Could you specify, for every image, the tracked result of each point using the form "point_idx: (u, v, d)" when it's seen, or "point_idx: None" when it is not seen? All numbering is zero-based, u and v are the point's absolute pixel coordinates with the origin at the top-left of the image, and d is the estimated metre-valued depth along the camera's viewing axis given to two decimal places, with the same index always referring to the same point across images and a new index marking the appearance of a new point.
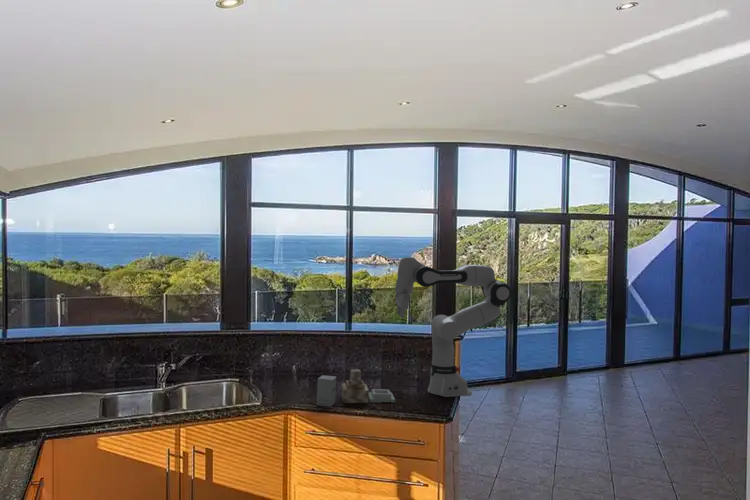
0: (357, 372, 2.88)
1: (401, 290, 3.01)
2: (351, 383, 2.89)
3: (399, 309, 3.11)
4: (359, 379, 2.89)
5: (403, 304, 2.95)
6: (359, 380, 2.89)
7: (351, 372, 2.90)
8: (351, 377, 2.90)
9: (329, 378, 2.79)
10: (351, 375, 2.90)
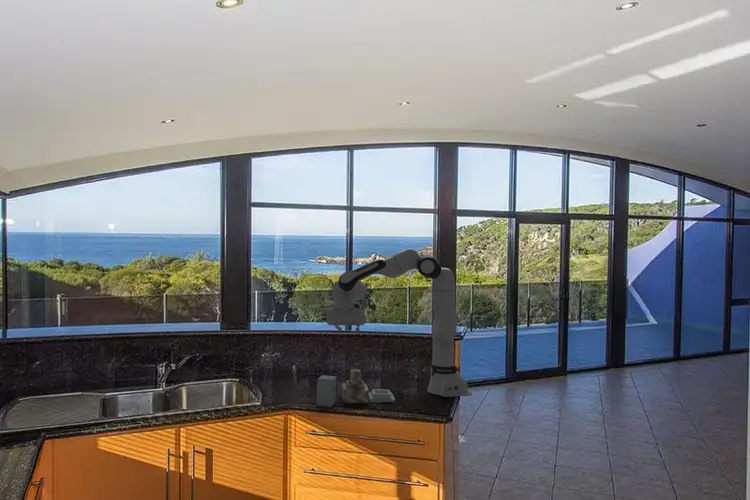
0: (357, 372, 2.88)
1: None
2: (351, 383, 2.89)
3: (357, 327, 3.04)
4: (359, 379, 2.89)
5: (327, 320, 3.02)
6: (359, 380, 2.89)
7: (351, 372, 2.90)
8: (351, 377, 2.90)
9: (329, 378, 2.79)
10: (351, 375, 2.90)
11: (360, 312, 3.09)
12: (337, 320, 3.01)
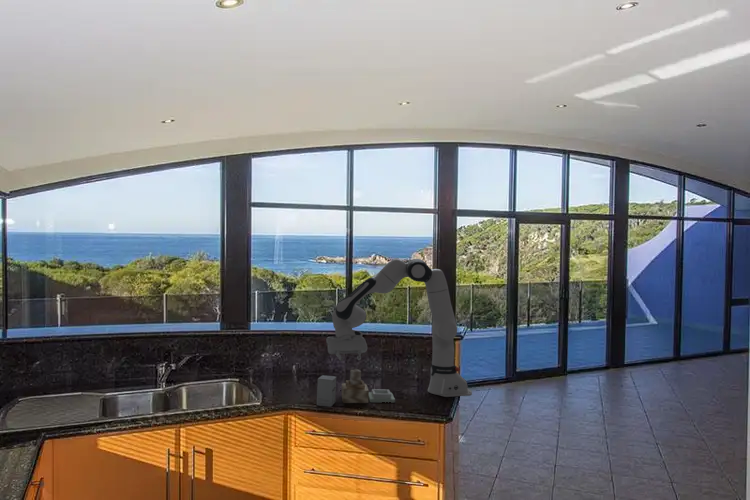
0: (357, 372, 2.88)
1: None
2: (351, 383, 2.89)
3: (359, 355, 3.01)
4: (359, 379, 2.89)
5: (328, 349, 2.99)
6: (359, 380, 2.89)
7: (351, 372, 2.90)
8: (351, 377, 2.90)
9: (329, 378, 2.79)
10: (351, 375, 2.90)
11: (361, 339, 3.05)
12: (338, 349, 2.98)
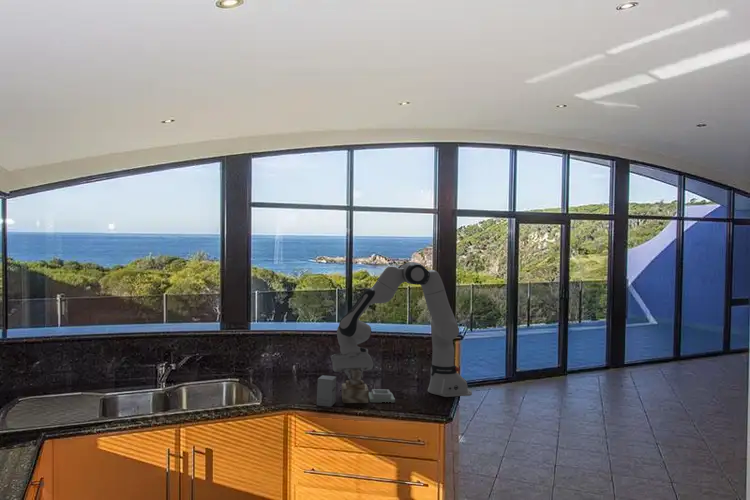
0: (357, 372, 2.88)
1: None
2: (351, 383, 2.89)
3: (361, 372, 2.92)
4: (359, 379, 2.89)
5: None
6: (359, 380, 2.89)
7: (351, 372, 2.90)
8: None
9: (329, 378, 2.79)
10: None
11: (367, 356, 2.97)
12: (343, 366, 2.90)
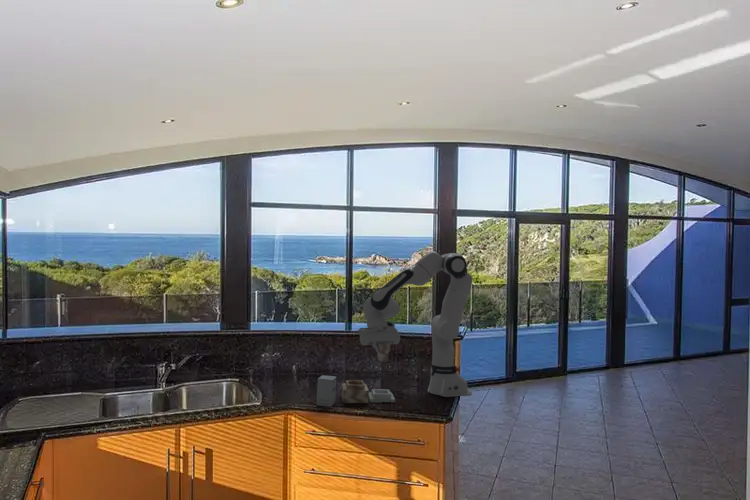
0: (385, 345, 2.90)
1: None
2: (379, 356, 2.91)
3: None
4: (387, 352, 2.91)
5: (360, 340, 2.93)
6: (387, 353, 2.91)
7: (379, 345, 2.92)
8: None
9: (329, 378, 2.79)
10: None
11: (394, 330, 2.99)
12: (371, 340, 2.92)
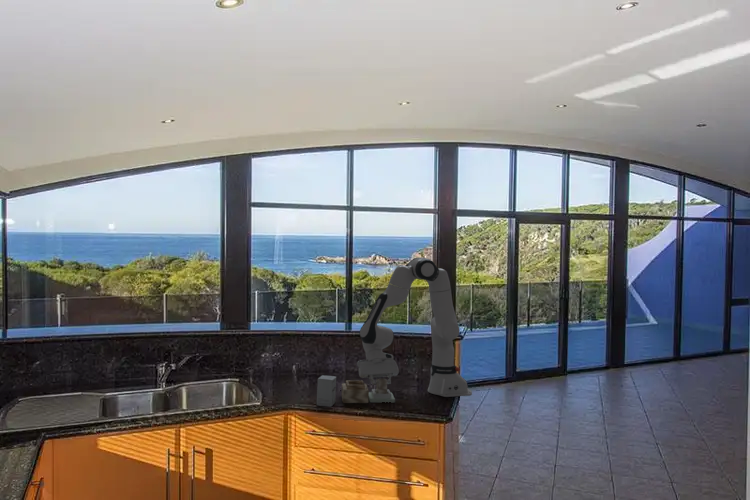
0: (383, 381, 2.91)
1: None
2: (377, 392, 2.92)
3: (389, 378, 2.95)
4: (385, 388, 2.92)
5: (359, 373, 2.94)
6: (385, 389, 2.92)
7: (377, 381, 2.92)
8: (377, 386, 2.92)
9: (329, 378, 2.79)
10: (377, 384, 2.92)
11: (392, 362, 3.00)
12: (369, 372, 2.92)
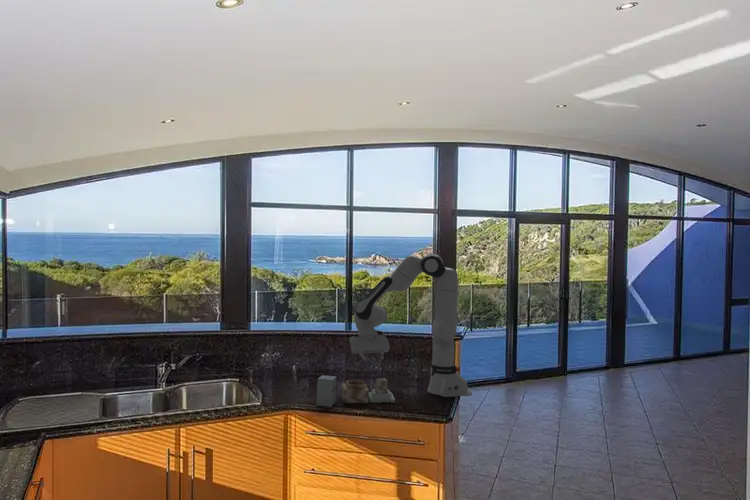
0: (383, 381, 2.91)
1: None
2: (377, 392, 2.92)
3: None
4: (385, 388, 2.92)
5: (351, 349, 3.05)
6: (385, 389, 2.92)
7: (377, 381, 2.92)
8: (377, 386, 2.92)
9: (329, 378, 2.79)
10: (377, 384, 2.92)
11: (383, 339, 3.11)
12: (361, 348, 3.03)
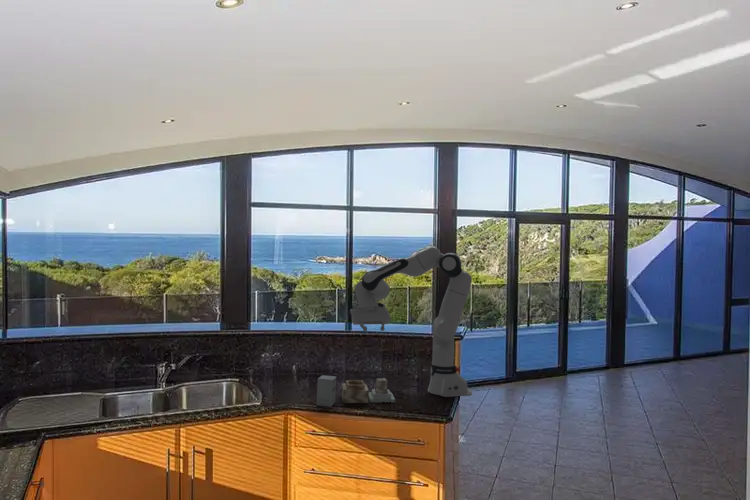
0: (383, 381, 2.91)
1: None
2: (377, 392, 2.92)
3: None
4: (385, 388, 2.92)
5: (352, 320, 3.05)
6: (385, 389, 2.92)
7: (377, 381, 2.92)
8: (377, 386, 2.92)
9: (329, 378, 2.79)
10: (377, 384, 2.92)
11: (384, 311, 3.11)
12: (362, 319, 3.03)
